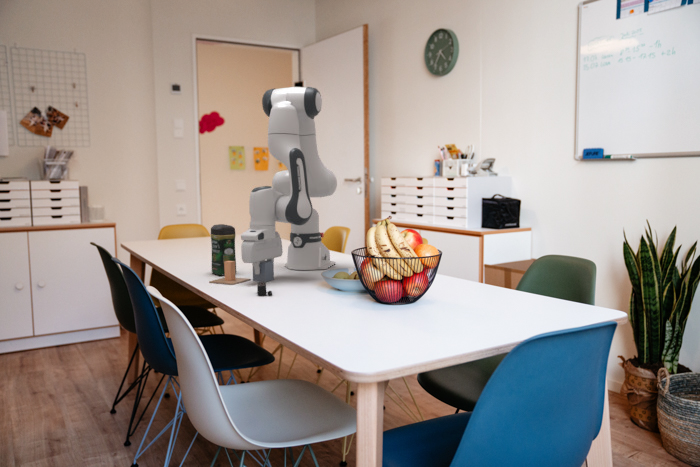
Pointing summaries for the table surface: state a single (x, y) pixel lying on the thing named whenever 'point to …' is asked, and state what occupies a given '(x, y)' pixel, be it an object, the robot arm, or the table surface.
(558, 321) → the table surface
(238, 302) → the table surface
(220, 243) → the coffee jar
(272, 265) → the grey block
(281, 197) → the robot arm
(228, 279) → the marker post
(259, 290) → the wireless earbuds
